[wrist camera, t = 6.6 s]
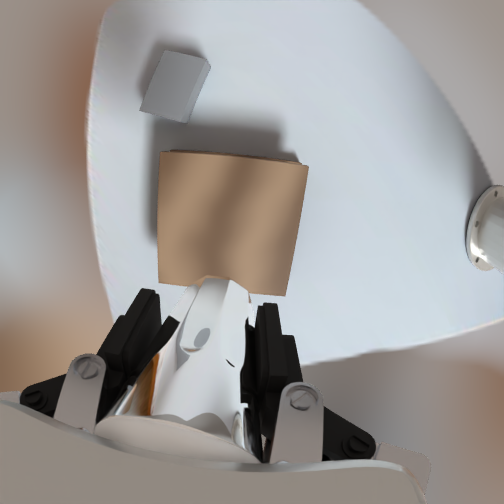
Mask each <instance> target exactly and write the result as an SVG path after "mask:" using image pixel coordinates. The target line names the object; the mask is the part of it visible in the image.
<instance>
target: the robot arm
mask: <svg viewBox="0 0 504 504" xmlns="http://www.w3.org/2000/svg"><path fill="white" fill-rule="evenodd" d="M466 244H467V253H468V257H469V259H470V261H471V263H472V264H473V265H474V266H475V267H476V268H477V269H479V270H481V271H488V270H491V269H493V268H495V269H497V270H498V271H499V272H500V273H502V274H503V275H504V186H500V185H494V186H491V187H490V188H488V189H487V190H486V191H485V192H484V193H483V194H482V195H481V197H480V198H479V199H478V201H477V203H476V205H475V207H474V209H473V212H472V214H471V217H470V221H469V225H468V230H467V239H466ZM161 326H162V324H161V311H160V297H159V294H156V293H155V290H151V289H144V288H142V289H141V290H140V291H139V293H138V295H137V296H136V298H135V299H134V301H133V303H132V304H131V306H130V307H129V309H128V311H127V312H126V314H125V316H124V315H120V316H119V317H118V319H117V320H116V322H115V324H114V325H113V327H112V329H111V330H110V332H109V334H108V335H107V337H106V339H105V341H104V342H103V344H102V345H101V347H100V349H99V351H98V353H97V354H96V355H95V354H83V355H80V356H78V357H76V358H75V359H74V360H73V361H72V362H71V364H70V366H69V369H68V372H67V374H64V375H61V376H58V377H55V378H52V379H49V380H46V381H43V382H40V383H36V384H34V385H31V386H29V387H27V388H26V389H24V390H23V392H22V393H21V394H20V393H19V391H12V392H2V393H0V504H427V502H426V499H425V496H424V495H425V491H426V487H427V483H428V479H429V475H430V470H431V463H430V461H429V459H428V458H427V457H426V456H425V455H423V454H421V453H417V452H413V451H410V450H407V449H403V448H400V447H397V446H393V445H390V444H387V443H384V442H381V444H379V443H376V442H375V440H374V439H373V438H372V436H371V435H370V434H368V433H367V432H365V431H364V430H362V429H360V428H358V427H357V426H355V425H354V424H352V423H350V422H348V421H347V420H345V419H344V418H342V417H340V416H339V415H337V414H335V413H334V412H332V411H330V410H329V409H327V408H326V407H324V400H323V395H322V394H321V392H320V390H319V389H317V388H316V387H315V386H313V385H311V384H309V383H305V382H303V379H302V373H301V368H300V363H299V358H298V353H297V348H296V343H295V339H294V336H293V335H282V331H281V324H280V318H279V312H278V305H277V304H276V303H263V306H259V305H258V310H257V316H256V322H255V355H256V379H257V393H258V403H259V414H260V426H261V434H262V435H264V436H265V437H266V439H265V444H264V450H263V459H264V464H258V463H235V462H222V461H212V460H203V459H195V458H188V457H182V456H176V455H171V454H165V453H160V452H156V451H151V450H147V449H142V448H138V447H134V446H131V445H127V444H123V443H120V442H116V441H113V440H110V439H107V438H103V437H100V436H97V435H94V430H95V426H96V425H97V424H98V423H99V421H100V420H101V418H102V416H103V415H104V413H105V412H106V410H107V409H108V407H109V406H110V404H111V403H112V401H113V400H114V398H115V397H116V395H117V394H118V392H119V391H120V389H121V388H122V386H123V385H124V383H125V382H126V380H127V379H128V377H129V376H130V374H131V373H132V371H133V370H134V368H135V367H136V365H137V364H138V362H139V361H140V359H141V358H142V356H143V355H144V353H145V351H146V350H147V348H148V347H149V345H150V343H151V342H152V340H153V339H154V337H155V336H156V334H157V332H158V331H159V329H160V328H161Z"/></svg>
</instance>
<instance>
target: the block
mask: <svg viewBox="0 0 504 504" xmlns="http://www.w3.org/2000/svg"><path fill="white" fill-rule="evenodd" d="M210 69H211V66H210V64H209V63H208V61H207V59H203V58H200V57H196V56H191V55H187V54H183V53H178V52H173V51H168V50H164V52H163V54H162V56H161V59H160V61H159V63H158V65H157V68H156V70H155V72H154V74H153V77H152V79H151V82H150V84H149V86H148V89H147V92H146V94H145V97H144V99H143V102H142V105H141V107H140V110H139V111H142V112H146V113H150V114H154V115H157V116H161V117H165V118H168V119H172V120H175V121H178V122H182V123H188V121H189V118H190V115H191V113H192V110H193V108H194V105H195V103H196V101H197V98H198V96H199V93H200V91H201V89H202V86H203V84H204V82H205V80H206V77H207V75H208V73H209V71H210Z"/></svg>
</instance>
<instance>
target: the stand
mask: <svg viewBox="0 0 504 504" xmlns="http://www.w3.org/2000/svg"><path fill="white" fill-rule="evenodd" d="M308 169H309V166H306V165H302V163H300V162H294V161H287V160H280V159H273V158H265V157H257V156H249V155H239V154H229V153H218V152H205V151H189V150H170V152H168V151H163V152H160V161H159V180H158V214H157V244H158V278H159V283H163V284H171V285H179V286H187V287H188V286H189V285H190V284H192V283H194V282H195V281H197V280H199V279H201V278H203V277H204V276H206V275H213V276H223V277H231V278H232V279H233V280H234V281H236V282H237V283H238V284H240V285H241V286H242V287H244V288H245V289H246V290H248V292H249V293H253V294H264V295H275V296H285V295H286V290H287V285H288V280H289V275H290V270H291V265H292V260H293V255H294V250H295V245H296V239H297V234H298V228H299V223H300V217H301V211H302V206H303V200H304V194H305V188H306V182H307V175H308Z"/></svg>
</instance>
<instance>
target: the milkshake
mask: <svg viewBox="0 0 504 504" xmlns="http://www.w3.org/2000/svg"><path fill="white" fill-rule="evenodd" d="M94 435H97V436H100V437H103V438H107V439H110V440H113V441H116V442H120V443H123V444H127V445H131V446H134V447H138V448H142V449H147V450H151V451H156V452H160V453H165V454H171V455H176V456H182V457H188V458H195V459H203V460H212V461H222V462H235V463H258V464H264V459H263V448H262V438H261V426H260V414H259V403H258V393H257V379H256V355H255V324H254V309H253V306H252V303H251V299H250V296H249V292H248V290H246V289H245V288H244V287H242V286H241V285H240V284H238V283H237V282H236V281H234V280H233V279H232V278H231V277H223V276H213V275H206V276H204V277H203V278H201V279H199V280H197V281H195V282H194V283H192V284H190V285H189V286H188V287H187V288H186V290H185V291H184V293H183V294H182V296H181V297H180V299H179V300H178V302H177V303H176V305H175V306H174V308H173V309H172V311H171V312H170V314H169V316H168V317H167V319H166V320H165V322H164V323H163V325H162V326H161V328H160V329H159V331H158V332H157V334H156V336H155V337H154V339H153V340H152V342H151V343H150V345H149V347H148V348H147V350H146V351H145V353H144V355H143V356H142V358H141V359H140V361H139V362H138V364H137V365H136V367H135V368H134V370H133V371H132V373H131V374H130V376H129V377H128V379H127V380H126V382H125V383H124V385H123V386H122V388H121V389H120V391H119V392H118V394H117V395H116V397H115V398H114V400H113V401H112V403H111V404H110V406H109V407H108V409H107V410H106V412H105V413H104V415H103V416H102V418H101V420H100V421H99V423H98V424H97V425H96V426H95V430H94Z"/></svg>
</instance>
